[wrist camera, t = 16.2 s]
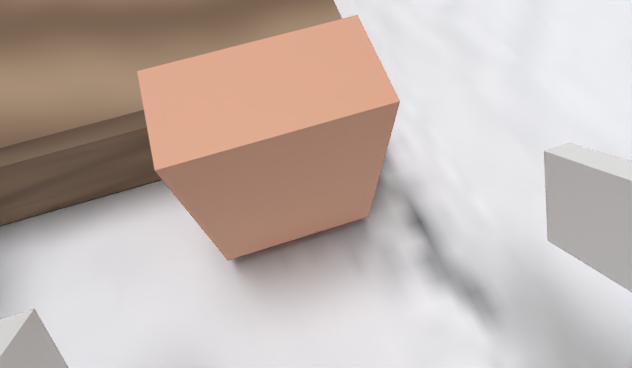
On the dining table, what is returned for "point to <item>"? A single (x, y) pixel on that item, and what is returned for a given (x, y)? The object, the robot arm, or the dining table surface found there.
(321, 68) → the peach rectangular block
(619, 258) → the robot arm
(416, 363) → the dining table surface
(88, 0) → the plunger housing
